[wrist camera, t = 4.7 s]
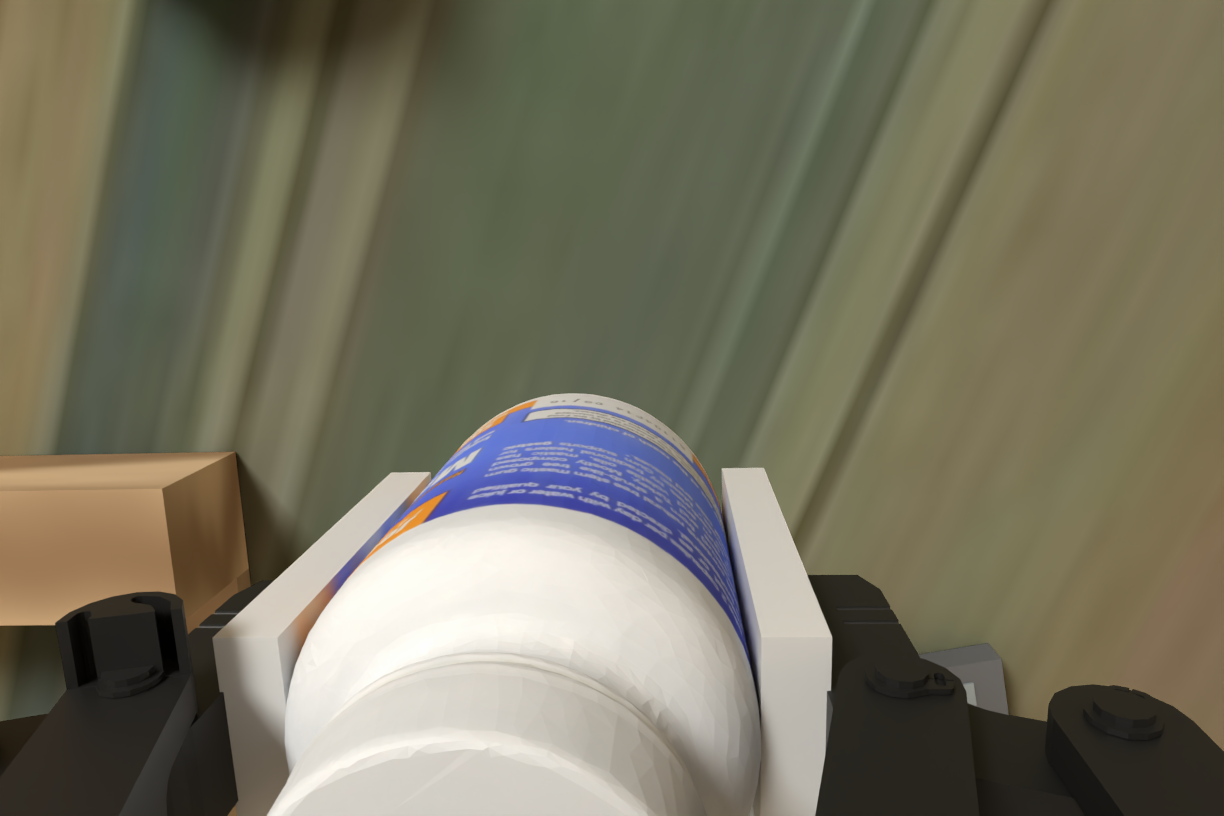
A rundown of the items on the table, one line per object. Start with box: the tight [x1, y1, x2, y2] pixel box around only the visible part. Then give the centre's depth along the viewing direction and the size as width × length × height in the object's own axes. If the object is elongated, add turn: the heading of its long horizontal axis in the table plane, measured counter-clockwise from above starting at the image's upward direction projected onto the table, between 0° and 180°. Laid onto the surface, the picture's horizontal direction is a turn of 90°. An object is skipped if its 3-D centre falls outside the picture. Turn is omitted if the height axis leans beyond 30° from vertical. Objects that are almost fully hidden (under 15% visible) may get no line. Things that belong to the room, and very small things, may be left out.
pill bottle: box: [267, 393, 761, 816], centre depth 12 cm, size 5×5×10 cm
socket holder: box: [0, 452, 251, 816], centre depth 26 cm, size 14×14×4 cm
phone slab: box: [749, 643, 1009, 816], centre depth 27 cm, size 7×13×1 cm, turn 102°
